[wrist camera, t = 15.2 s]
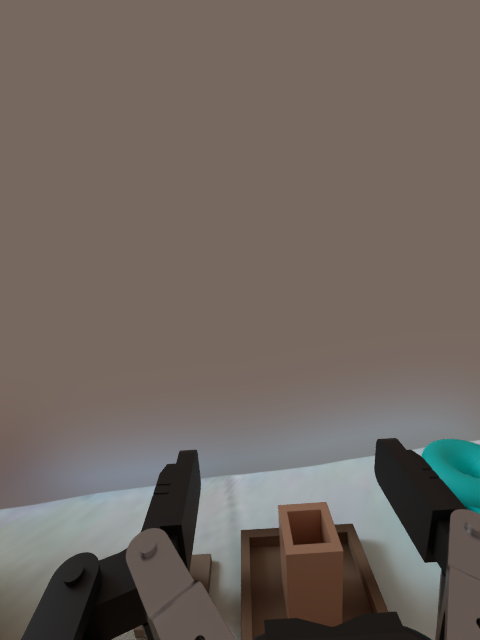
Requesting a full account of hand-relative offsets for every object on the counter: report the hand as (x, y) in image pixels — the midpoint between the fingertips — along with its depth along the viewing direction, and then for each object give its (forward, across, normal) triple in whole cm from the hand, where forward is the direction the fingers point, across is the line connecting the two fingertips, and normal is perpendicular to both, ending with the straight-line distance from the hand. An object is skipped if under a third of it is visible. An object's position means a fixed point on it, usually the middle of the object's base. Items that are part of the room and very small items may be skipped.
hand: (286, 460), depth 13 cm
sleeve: (+10, -4, +27) cm, 29 cm away
